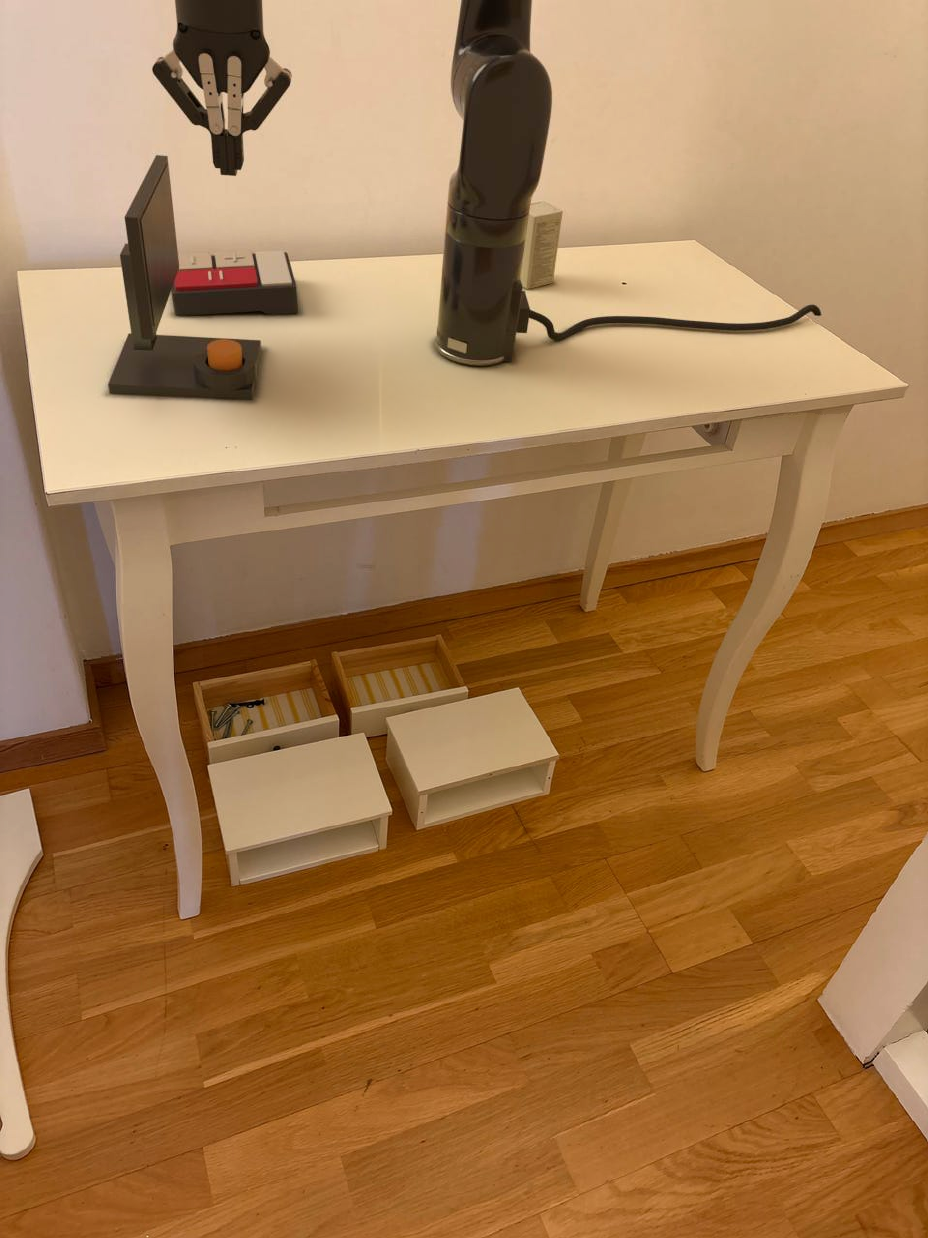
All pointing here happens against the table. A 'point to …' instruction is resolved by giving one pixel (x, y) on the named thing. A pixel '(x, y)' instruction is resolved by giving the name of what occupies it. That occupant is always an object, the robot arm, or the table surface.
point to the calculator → (234, 283)
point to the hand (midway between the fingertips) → (229, 172)
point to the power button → (224, 354)
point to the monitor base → (183, 370)
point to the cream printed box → (540, 245)
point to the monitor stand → (133, 303)
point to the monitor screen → (152, 245)
